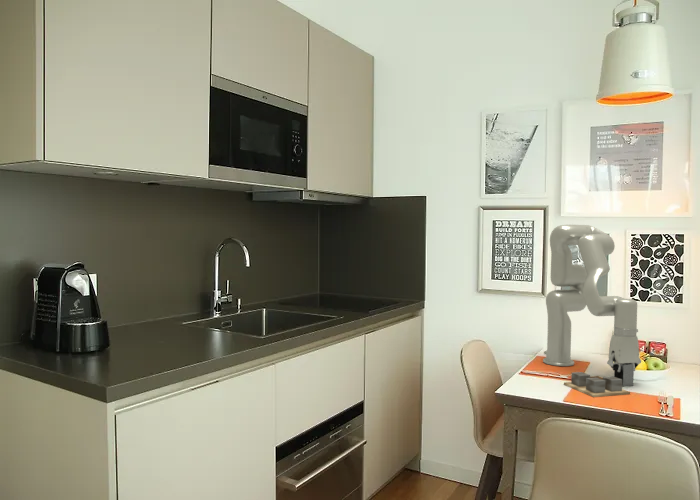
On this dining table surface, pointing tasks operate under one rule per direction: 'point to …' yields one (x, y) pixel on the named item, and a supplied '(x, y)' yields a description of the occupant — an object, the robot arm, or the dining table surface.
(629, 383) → the dark gray rectangular block
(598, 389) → the board
